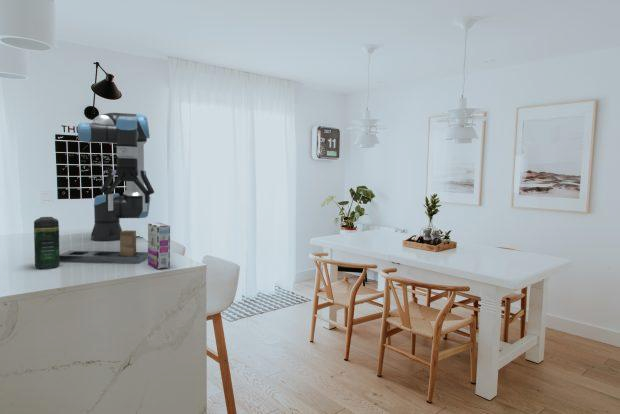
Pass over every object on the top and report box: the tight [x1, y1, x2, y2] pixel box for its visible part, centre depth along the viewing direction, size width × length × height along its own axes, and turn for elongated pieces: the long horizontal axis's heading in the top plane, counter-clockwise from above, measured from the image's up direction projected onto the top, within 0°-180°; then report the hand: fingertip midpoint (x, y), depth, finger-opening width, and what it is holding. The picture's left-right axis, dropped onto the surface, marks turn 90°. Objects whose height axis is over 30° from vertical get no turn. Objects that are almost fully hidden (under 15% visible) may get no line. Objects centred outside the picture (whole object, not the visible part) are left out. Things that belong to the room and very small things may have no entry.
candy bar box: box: [147, 222, 171, 270], centre depth 157 cm, size 11×5×16 cm, turn 40°
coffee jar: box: [33, 216, 61, 269], centre depth 152 cm, size 10×8×19 cm
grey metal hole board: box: [59, 250, 148, 265], centre depth 165 cm, size 10×32×2 cm, turn 91°
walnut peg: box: [119, 229, 137, 256], centre depth 164 cm, size 4×4×12 cm
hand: (127, 211), depth 163 cm, fingers open, 13 cm apart
